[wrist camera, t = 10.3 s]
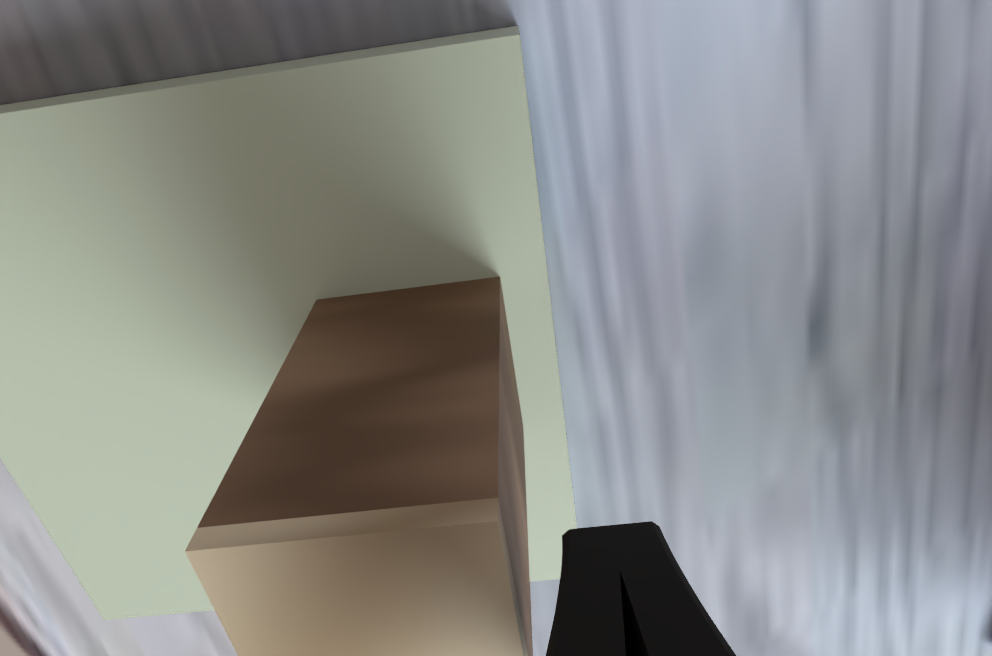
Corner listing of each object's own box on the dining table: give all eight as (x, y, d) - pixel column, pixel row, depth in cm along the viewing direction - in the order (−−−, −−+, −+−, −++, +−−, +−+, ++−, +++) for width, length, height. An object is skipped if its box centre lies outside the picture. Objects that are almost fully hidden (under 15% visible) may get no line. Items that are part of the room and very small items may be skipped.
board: (518, 25, 13) (519, 34, 12) (577, 536, 20) (582, 576, 19) (-138, 126, 14) (-201, 143, 13) (128, 578, 21) (103, 619, 20)
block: (500, 276, 14) (498, 520, 8) (523, 426, 16) (535, 713, 10) (316, 299, 15) (184, 551, 9) (360, 444, 17) (278, 733, 11)
